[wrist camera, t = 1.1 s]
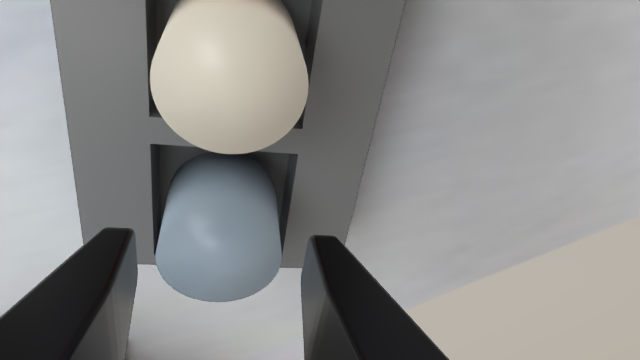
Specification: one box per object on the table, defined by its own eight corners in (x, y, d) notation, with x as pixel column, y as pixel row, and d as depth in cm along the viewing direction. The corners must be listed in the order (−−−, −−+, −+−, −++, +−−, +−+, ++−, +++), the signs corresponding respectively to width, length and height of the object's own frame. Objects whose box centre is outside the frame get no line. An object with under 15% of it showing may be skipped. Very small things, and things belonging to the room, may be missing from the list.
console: (328, 223, 23) (338, 268, 21) (103, 214, 21) (86, 263, 19) (439, -285, 13) (483, -314, 11) (41, -391, 11) (-13, -455, 9)
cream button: (288, 105, 17) (297, 158, 14) (167, 94, 16) (152, 148, 13) (304, -15, 15) (319, 19, 12) (166, -35, 14) (147, -3, 11)
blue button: (270, 237, 20) (274, 302, 17) (169, 233, 19) (156, 301, 16) (281, 154, 18) (289, 213, 15) (168, 147, 17) (153, 207, 14)
